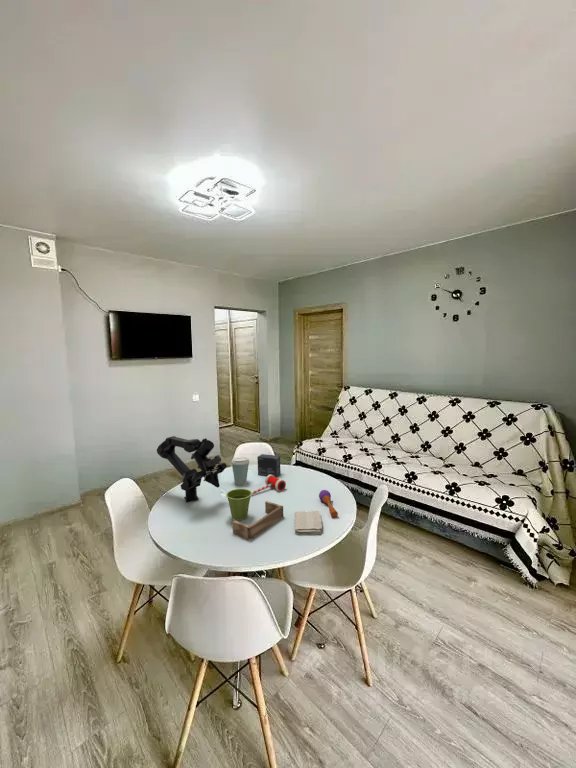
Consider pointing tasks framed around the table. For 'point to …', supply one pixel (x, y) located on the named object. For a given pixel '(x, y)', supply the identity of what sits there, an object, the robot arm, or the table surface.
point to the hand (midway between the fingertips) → (218, 487)
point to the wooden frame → (259, 522)
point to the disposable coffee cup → (240, 470)
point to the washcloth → (308, 523)
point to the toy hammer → (272, 484)
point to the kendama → (328, 502)
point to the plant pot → (239, 503)
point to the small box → (268, 465)
